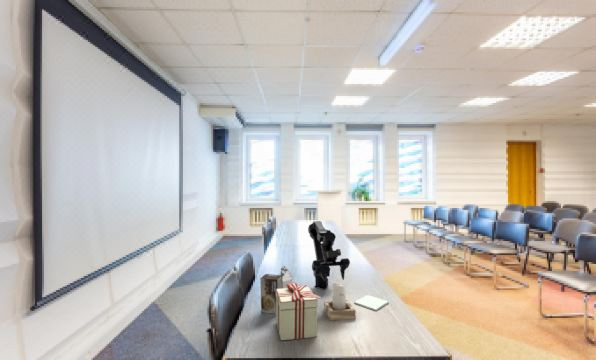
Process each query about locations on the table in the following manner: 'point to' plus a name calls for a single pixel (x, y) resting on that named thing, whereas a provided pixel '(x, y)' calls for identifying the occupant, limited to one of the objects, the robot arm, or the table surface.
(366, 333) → the table surface
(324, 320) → the table surface
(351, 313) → the collar
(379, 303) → the pad
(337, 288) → the white tall cylinder
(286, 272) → the gun
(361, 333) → the table surface
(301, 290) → the gift box
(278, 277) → the coffee box
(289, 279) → the white cup
